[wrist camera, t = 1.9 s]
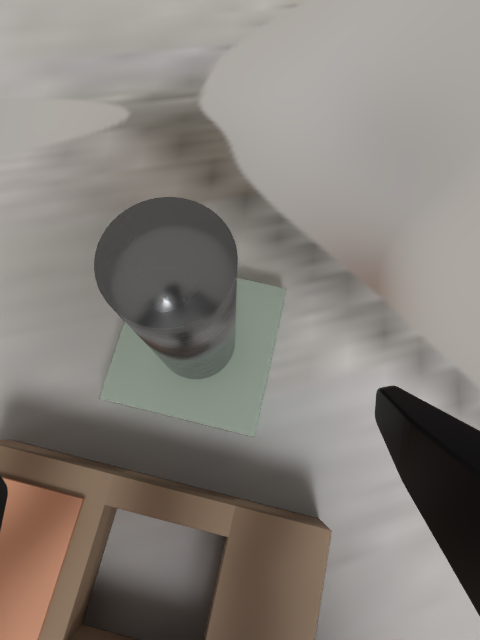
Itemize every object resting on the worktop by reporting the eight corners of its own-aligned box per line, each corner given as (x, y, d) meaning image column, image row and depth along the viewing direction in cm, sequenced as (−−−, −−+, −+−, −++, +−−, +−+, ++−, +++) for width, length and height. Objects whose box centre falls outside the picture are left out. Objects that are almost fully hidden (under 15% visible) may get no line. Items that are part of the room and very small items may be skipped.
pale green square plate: (284, 295, 23) (286, 288, 22) (253, 437, 20) (254, 437, 19) (150, 264, 23) (146, 256, 22) (104, 400, 21) (98, 398, 20)
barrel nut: (242, 314, 21) (251, 213, 12) (224, 387, 20) (218, 343, 10) (170, 297, 21) (120, 184, 12) (149, 369, 20) (73, 309, 11)
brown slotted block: (319, 518, 19) (332, 531, 17) (286, 717, 17) (296, 767, 14) (10, 439, 20) (-23, 440, 17) (-60, 619, 18) (-109, 650, 15)
